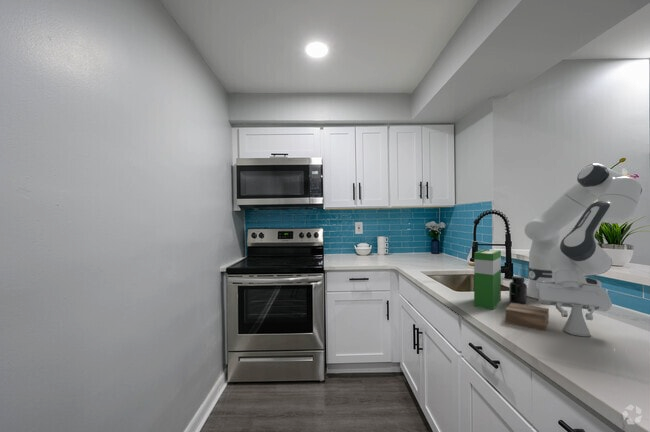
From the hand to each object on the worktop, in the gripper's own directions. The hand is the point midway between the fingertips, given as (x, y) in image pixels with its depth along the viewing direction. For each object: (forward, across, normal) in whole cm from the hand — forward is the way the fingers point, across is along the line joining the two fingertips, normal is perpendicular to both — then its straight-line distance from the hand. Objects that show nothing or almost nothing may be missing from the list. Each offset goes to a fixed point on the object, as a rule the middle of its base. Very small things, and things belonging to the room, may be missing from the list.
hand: (577, 317), depth 100 cm
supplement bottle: (-20, -13, +28) cm, 37 cm away
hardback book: (-14, -25, +22) cm, 37 cm away
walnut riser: (0, -13, +8) cm, 15 cm away
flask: (+4, 0, +4) cm, 6 cm away
